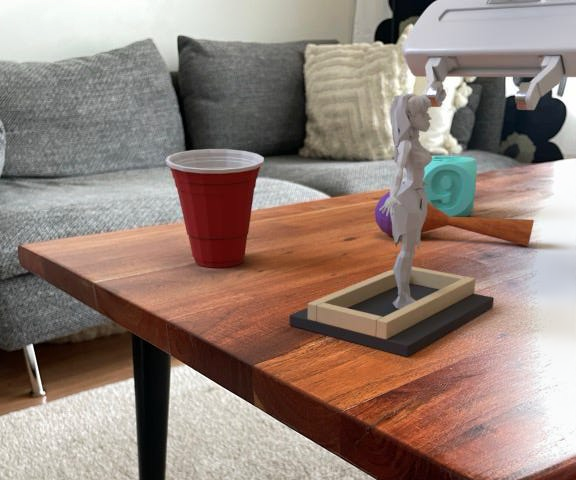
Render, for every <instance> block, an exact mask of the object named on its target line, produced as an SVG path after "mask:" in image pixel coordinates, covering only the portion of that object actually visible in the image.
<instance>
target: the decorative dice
mask: <svg viewBox="0 0 576 480" xmlns="http://www.w3.org/2000/svg"><path fill="white" fill-rule="evenodd" d="M431 156H432V161H431V162H430V163H429V164H428V165H427V166H426V167H425V168H424V169H425V174H424V178H423V180H424V181H425V182H427V183H428V184H429V186H428V185H426V184H425V185H423V188H424V190H425V192H424V193H425V194H426V196H427V197H428V201H427V202H428V203H430V204H431V205H433V206H434V207H436V208H437V209H439V210H440V211H442V212H443V213H445V214H446V215H448V216H449V217H469V216H470V215H471V214H473V210H474V205H475V197H476V187H477V186H476V185H477V174H478V173H477V171H478V164H477V160H476V159H475V158H474V157H471V156H470V157H469V156H460V155H431ZM422 190H423V189H422Z"/></svg>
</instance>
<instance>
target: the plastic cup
mask: <svg viewBox="0 0 576 480" xmlns="http://www.w3.org/2000/svg"><path fill="white" fill-rule="evenodd" d="M264 161H265V158H264V157H263V156H262V155H260V154H258V153H257V152H256V153H255V152H252V151H246V150H239V149H229V148H227V149H226V148H218V149H217V148H206V149H191V150H186V151H180V152H176V153H173V154H170V155H168V156H167V157H166V158H165V161H164V162H165V164H166V165H167V166H168V168H169V169H170V172H171V175H172V178H173V180H174V185H175V188H176V190H177V196H178V199H179V204H180V209H181V213H182V217H183V222H184V224H185V225H184V226H185V230H186V235H188V240H189V245H190V250H191V255H192V258H193V259H194V260H193V261H194V263H195V264H196V265H197V266H201V267H203V268H230V267H236V266H239V265H241V264H243V263H244V259H245V256H246V248H247V241H248V235H249V231H250V224H251V217H252V208H253V201H254V194H255V188H256V185H257V179H258V178H259V172H260V170H261V167H263V166H264Z"/></svg>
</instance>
